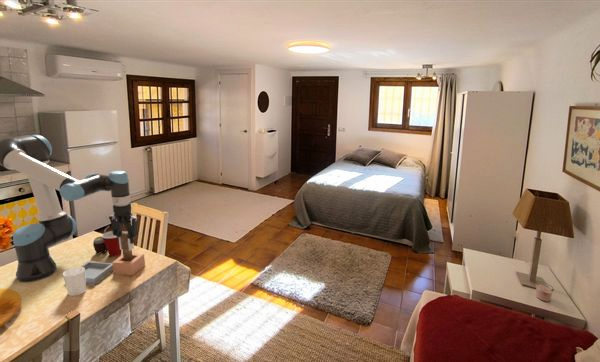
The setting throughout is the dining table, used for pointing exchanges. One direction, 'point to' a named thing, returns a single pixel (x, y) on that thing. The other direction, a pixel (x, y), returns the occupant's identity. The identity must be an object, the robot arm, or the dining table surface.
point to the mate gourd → (99, 244)
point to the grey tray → (96, 271)
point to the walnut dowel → (126, 247)
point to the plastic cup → (111, 243)
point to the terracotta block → (128, 264)
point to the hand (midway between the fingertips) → (127, 248)
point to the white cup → (75, 280)
